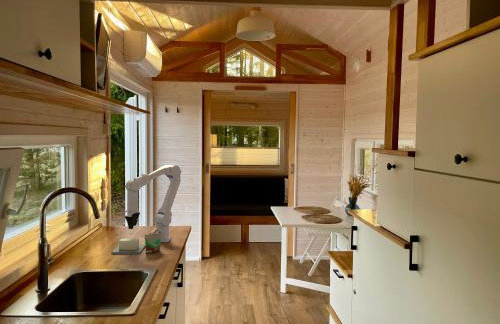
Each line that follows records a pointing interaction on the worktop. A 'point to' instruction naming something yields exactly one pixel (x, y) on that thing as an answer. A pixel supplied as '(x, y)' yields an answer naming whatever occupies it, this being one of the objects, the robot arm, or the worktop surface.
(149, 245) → the food container
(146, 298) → the worktop surface
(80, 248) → the worktop surface
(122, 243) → the housing cap
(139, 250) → the stub board
